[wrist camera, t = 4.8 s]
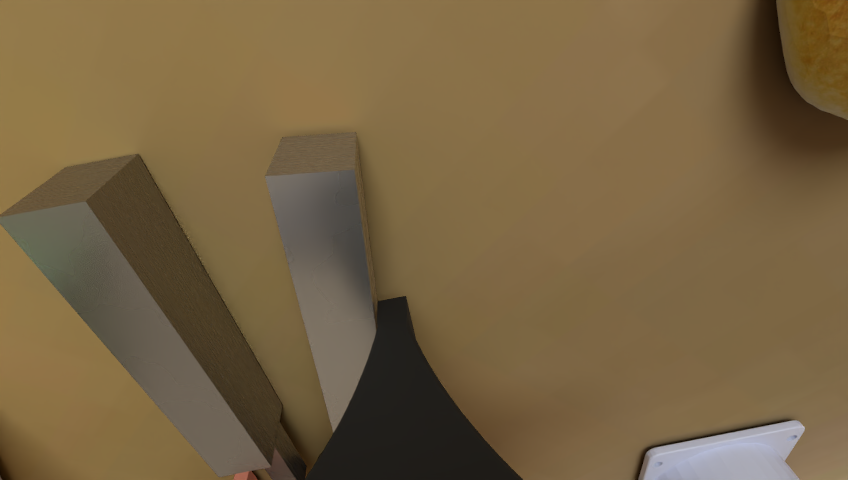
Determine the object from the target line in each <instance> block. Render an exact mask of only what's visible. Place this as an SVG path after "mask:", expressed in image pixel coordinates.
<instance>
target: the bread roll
mask: <svg viewBox="0 0 848 480" xmlns="http://www.w3.org/2000/svg"><path fill="white" fill-rule="evenodd" d="M776 5H777V13H778V21H779V30H780V36H781V42H782V48H783V55H784V58H785V65H786V70H787V73H788V76H789V79H790V82H791V83H792V85H793V87H794V88H795V90H796V91H797V92H798V93H799V95H800V96H801V97H802V98H803V99H804V100H805V101H806V102H807V103H810V104H812V105H813V106H815V107H816V108H818V109H819V110H822V111H825V112H828V113H831V114H833V115H836V116H839V117H842V118H844V119H846V120H848V0H776Z"/></svg>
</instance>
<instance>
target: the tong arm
mask: <svg viewBox="0 0 848 480" xmlns="http://www.w3.org/2000/svg"><path fill="white" fill-rule="evenodd" d="M265 178H266V182H267V186H268V189H269V193H270V197H271V201H272V204H273V208H274V212H275V216H276V219H277V223H278V227H279V231H280V234H281V238H282V242H283V246H284V249H285V253H286V257H287V261H288V264H289V268H290V272H291V276H292V279H293V283H294V287H295V291H296V294H297V298H298V302H299V306H300V309H301V313H302V317H303V321H304V324H305V328H306V332H307V336H308V339H309V343H310V347H311V351H312V354H313V358H314V362H315V366H316V370H317V373H318V377H319V381H320V385H321V388H322V392H323V396H324V400H325V403H326V407H327V411H328V415H329V418H330V422H331V426H332V430H333V433H334V431H335V429H336V428H337V426H338V424H339V422H340V420H341V418H342V417H343V415H344V413H345V411H346V409H347V407H348V405H349V402H350V400H351V398H352V396H353V394H354V392H355V389H356V387H357V385H358V382H359V380H360V377H361V375H362V372H363V370H364V367H365V365H366V362H367V359H368V357H369V353H370V350H371V347H372V344H373V341H374V338H375V335H376V331H377V328H378V326H377V305H378V303H377V295H376V287H375V279H374V271H373V263H372V255H371V247H370V239H369V231H368V223H367V215H366V207H365V199H364V191H363V183H362V175H361V167H360V159H359V151H358V143H357V135H356V132H351V133H337V134H323V135H309V136H294V137H282V139H281V141H280V144H279V146H278V148H277V151H276V153H275V155H274V157H273V160H272V162H271V164H270V166H269V169H268V171H267V173H266V175H265Z"/></svg>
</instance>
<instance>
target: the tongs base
mask: <svg viewBox="0 0 848 480" xmlns="http://www.w3.org/2000/svg"><path fill="white" fill-rule="evenodd" d="M0 224H1V225H2V226H3V227H4V229H5V230H6V231H7V232H8V233H9V234H10V236H11V237H12V238H13V239H14V240H15V241H16V242H17V244H18V245H19V246H20V247H21V248H22V249H23V251H24V252H25V253H26V254H27V255H28V256H29V258H30V259H31V260H32V261H33V262H34V263H35V265H36V266H37V267H38V268H39V269H40V270H41V271H42V273H43V274H44V275H45V276H46V277H47V278H48V280H49V281H50V282H51V283H52V284H53V285H54V287H55V288H56V289H57V290H58V291H59V292H60V293H61V295H62V296H63V297H64V298H65V299H66V300H67V302H68V303H69V304H70V305H71V306H72V307H73V309H74V310H75V311H76V312H77V313H78V314H79V316H80V317H81V318H82V319H83V320H84V321H85V322H86V324H87V325H88V326H89V327H90V328H91V329H92V331H93V332H94V333H95V334H96V335H97V336H98V338H99V339H100V340H101V341H102V342H103V343H104V345H105V346H106V347H107V348H108V349H109V350H110V351H111V353H112V354H113V355H114V356H115V357H116V358H117V360H118V361H119V362H120V363H121V364H122V365H123V367H124V368H125V369H126V370H127V371H128V372H129V373H130V375H131V376H132V377H133V378H134V379H135V380H136V382H137V383H138V384H139V385H140V386H141V387H142V389H143V390H144V391H145V392H146V393H147V394H148V396H149V397H150V398H151V399H152V400H153V401H154V402H155V404H156V405H157V406H158V407H159V408H160V409H161V411H162V412H163V413H164V414H165V415H166V416H167V418H168V419H169V420H170V421H171V422H172V423H173V425H174V426H175V427H176V428H177V429H178V430H179V431H180V433H181V434H182V435H183V436H184V437H185V438H186V440H187V441H188V442H189V443H190V444H191V445H192V447H193V448H194V449H195V450H196V451H197V452H198V453H199V455H200V456H201V457H202V458H203V459H204V460H205V462H206V463H207V464H208V465H209V466H210V467H211V469H212V470H213V471H214V472H215V473H216V474H217V476H218V477H223V476H228V475H233V474H238V473H243V472H248V471H253V470H258V469H263V468H265V470H266V471H267V472H268V474H269V475H270V477H271V478H272V479H273V480H305V475H306V465H305V463H304V461H303V460H302V458H301V456H300V455H299V453H298V451H297V450H296V448H295V446H294V445H293V443H292V441H291V440H290V438H289V436H288V435H287V433H286V431H285V430H284V428H283V427H282V425H281V423H280V422H279V421H280V416H281V410H282V403H281V402H280V400H279V398H278V396H277V395H276V393H275V391H274V389H273V388H272V386H271V384H270V383H269V381H268V379H267V377H266V376H265V374H264V372H263V370H262V369H261V367H260V365H259V363H258V362H257V360H256V358H255V356H254V355H253V353H252V351H251V349H250V348H249V346H248V344H247V343H246V341H245V339H244V337H243V336H242V334H241V332H240V330H239V329H238V327H237V325H236V323H235V322H234V320H233V318H232V316H231V315H230V313H229V311H228V309H227V308H226V306H225V304H224V303H223V301H222V299H221V297H220V296H219V294H218V292H217V290H216V289H215V287H214V285H213V283H212V282H211V280H210V278H209V276H208V275H207V273H206V271H205V269H204V268H203V266H202V264H201V263H200V261H199V259H198V257H197V256H196V254H195V252H194V250H193V249H192V247H191V245H190V243H189V242H188V240H187V238H186V236H185V235H184V233H183V231H182V229H181V228H180V226H179V224H178V223H177V221H176V219H175V217H174V216H173V214H172V212H171V210H170V209H169V207H168V205H167V203H166V202H165V200H164V198H163V196H162V195H161V193H160V191H159V189H158V188H157V186H156V184H155V183H154V181H153V179H152V177H151V176H150V174H149V172H148V170H147V169H146V167H145V165H144V163H143V162H142V160H141V158H140V156H139V155H138V154H135V155H130V156H124V157H119V158H114V159H108V160H103V161H98V162H92V163H87V164H82V165H76V166H71V167H66V168H64V169H63V170H61V171H60V172H58V173H57V174H56V175H54V176H53V177H52V178H50V179H49V180H47V181H46V182H45V183H43V184H42V185H41V186H39V187H38V188H36V189H35V190H34V191H32V192H31V193H29V194H28V195H27V196H25V197H24V198H23V199H21V200H20V201H18V202H17V203H16V204H14V205H13V206H12V207H10V208H9V209H7V210H6V211H5V212H3V213H2V214H0ZM321 454H322V453H321ZM321 454H320V455H321ZM320 455H319V457H320ZM319 457H318V459H319Z"/></svg>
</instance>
